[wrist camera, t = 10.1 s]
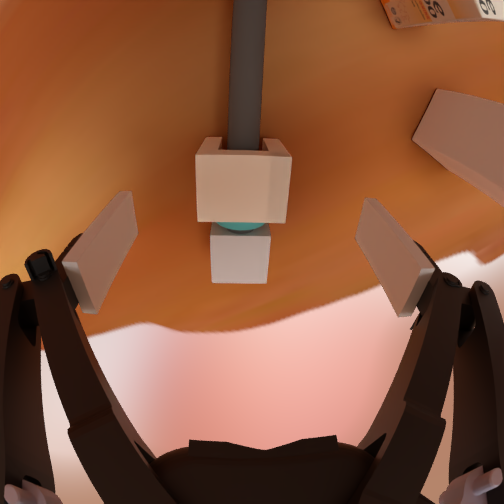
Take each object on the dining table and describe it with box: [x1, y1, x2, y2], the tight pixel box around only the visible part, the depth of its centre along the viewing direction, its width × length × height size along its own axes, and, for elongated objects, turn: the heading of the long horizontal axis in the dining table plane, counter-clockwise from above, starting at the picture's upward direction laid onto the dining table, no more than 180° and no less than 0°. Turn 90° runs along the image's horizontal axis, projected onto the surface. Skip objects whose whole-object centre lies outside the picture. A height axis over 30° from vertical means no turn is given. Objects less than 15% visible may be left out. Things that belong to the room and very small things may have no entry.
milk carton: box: [412, 89, 504, 207], centre depth 16 cm, size 7×7×19 cm
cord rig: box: [210, 0, 271, 283], centre depth 20 cm, size 30×5×7 cm, turn 177°
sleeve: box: [195, 137, 292, 223], centre depth 22 cm, size 5×6×7 cm
